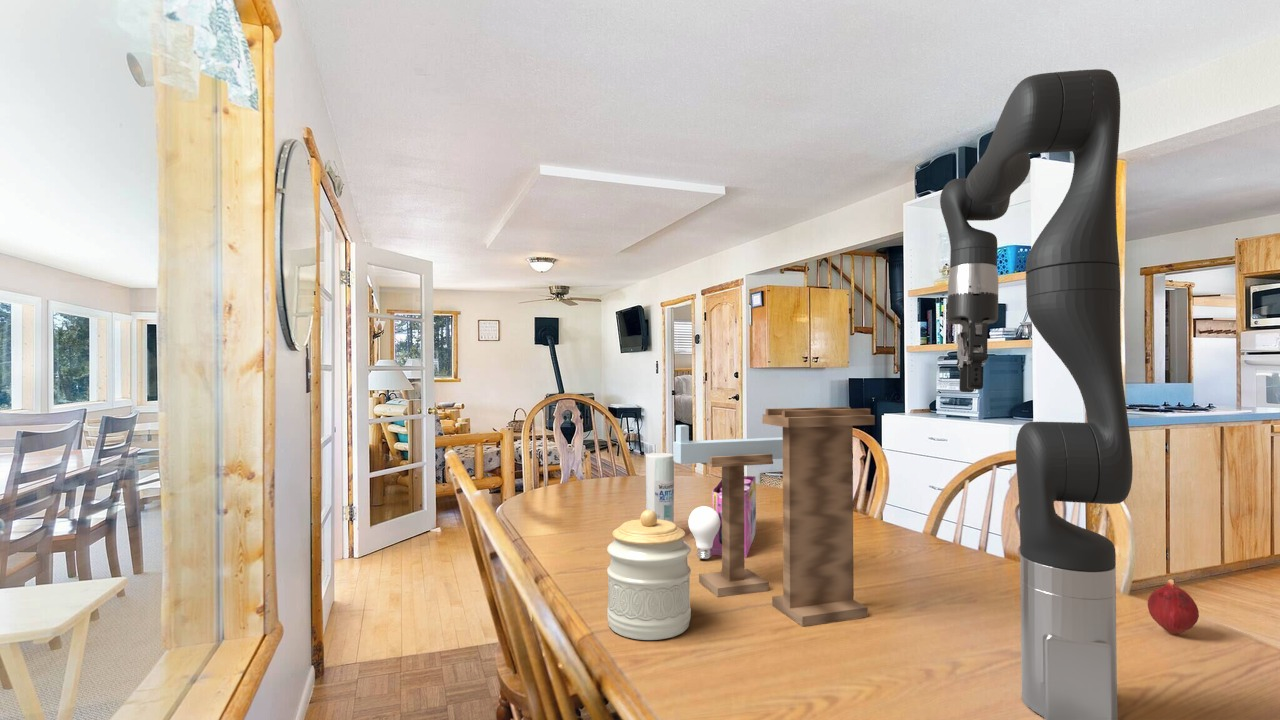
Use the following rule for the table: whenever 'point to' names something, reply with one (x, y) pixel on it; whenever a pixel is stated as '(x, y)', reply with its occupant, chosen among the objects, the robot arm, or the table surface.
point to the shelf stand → (818, 513)
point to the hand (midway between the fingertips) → (970, 390)
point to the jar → (648, 579)
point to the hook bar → (721, 447)
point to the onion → (1173, 608)
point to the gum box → (748, 514)
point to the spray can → (660, 485)
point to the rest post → (734, 530)
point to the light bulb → (704, 529)
